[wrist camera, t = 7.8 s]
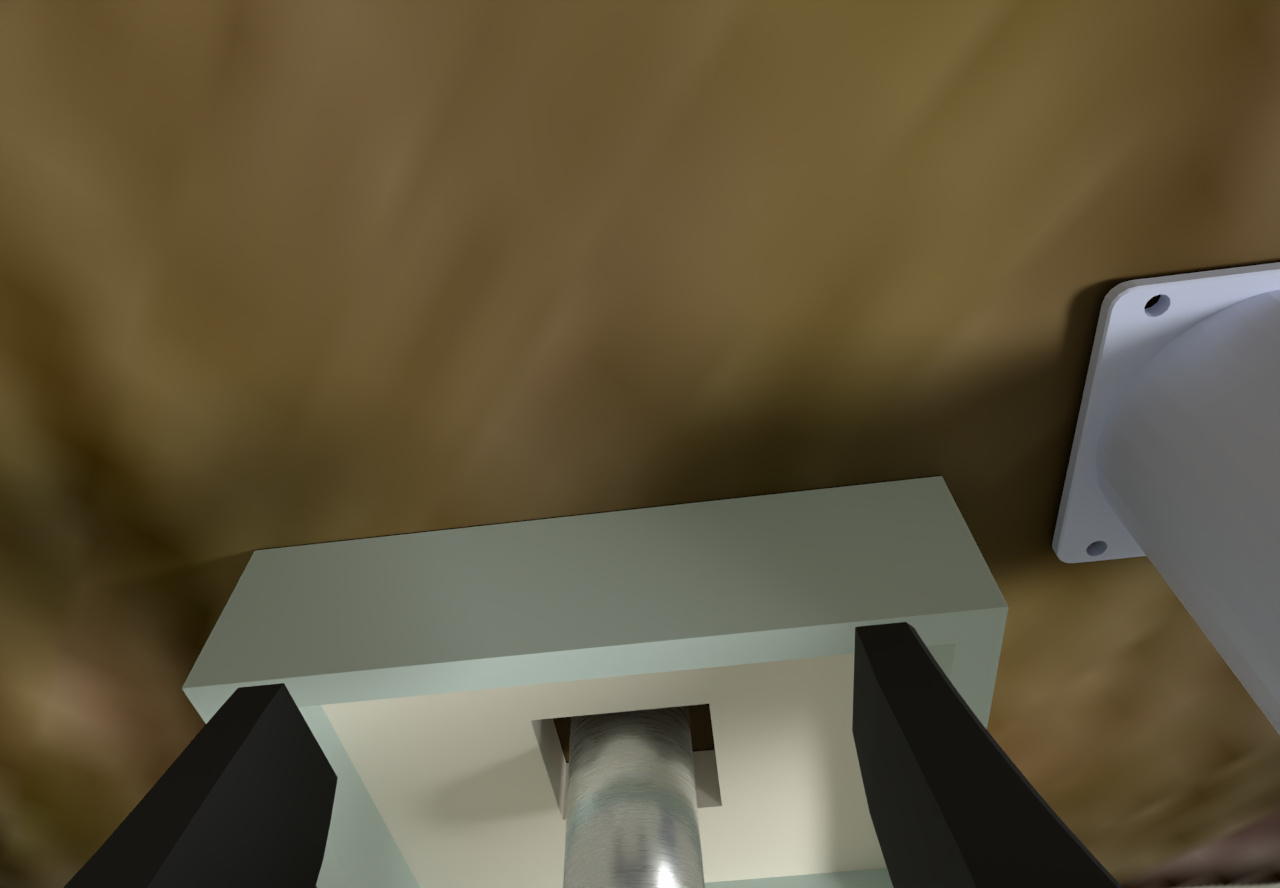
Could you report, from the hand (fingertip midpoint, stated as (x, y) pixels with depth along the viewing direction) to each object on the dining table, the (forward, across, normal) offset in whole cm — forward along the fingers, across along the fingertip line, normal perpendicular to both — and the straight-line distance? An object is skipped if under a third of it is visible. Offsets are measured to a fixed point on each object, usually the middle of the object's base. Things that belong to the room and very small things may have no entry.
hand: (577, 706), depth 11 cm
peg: (+10, +1, +13) cm, 16 cm away
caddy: (+10, +1, +13) cm, 16 cm away
